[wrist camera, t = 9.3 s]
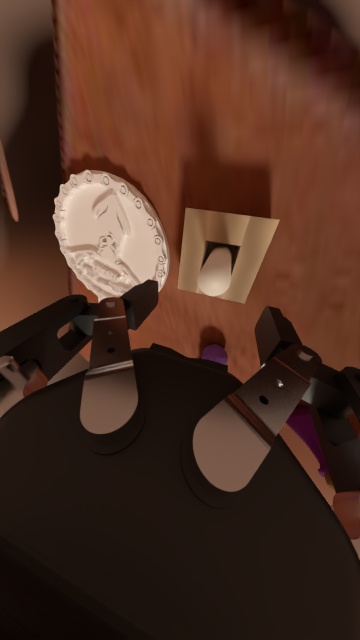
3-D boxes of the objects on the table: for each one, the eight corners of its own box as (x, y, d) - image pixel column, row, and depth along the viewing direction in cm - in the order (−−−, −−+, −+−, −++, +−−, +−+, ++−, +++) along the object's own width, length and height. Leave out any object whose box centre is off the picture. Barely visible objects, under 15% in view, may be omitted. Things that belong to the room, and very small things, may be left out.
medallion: (190, 215, 24) (187, 215, 22) (148, 327, 40) (144, 333, 39) (55, 141, 23) (40, 135, 21) (69, 286, 40) (62, 289, 38)
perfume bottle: (306, 400, 39) (348, 507, 25) (325, 414, 40) (375, 524, 26) (279, 406, 43) (301, 500, 29) (296, 419, 44) (325, 515, 30)
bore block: (270, 218, 21) (279, 220, 17) (242, 290, 27) (244, 303, 24) (193, 208, 23) (185, 207, 19) (185, 278, 29) (177, 288, 25)
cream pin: (234, 246, 23) (235, 267, 13) (228, 267, 25) (225, 299, 15) (213, 242, 23) (200, 261, 14) (209, 263, 25) (194, 292, 16)
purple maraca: (175, 385, 45) (204, 351, 32) (184, 370, 50) (213, 335, 36) (192, 397, 44) (229, 368, 31) (199, 381, 49) (235, 349, 35)
